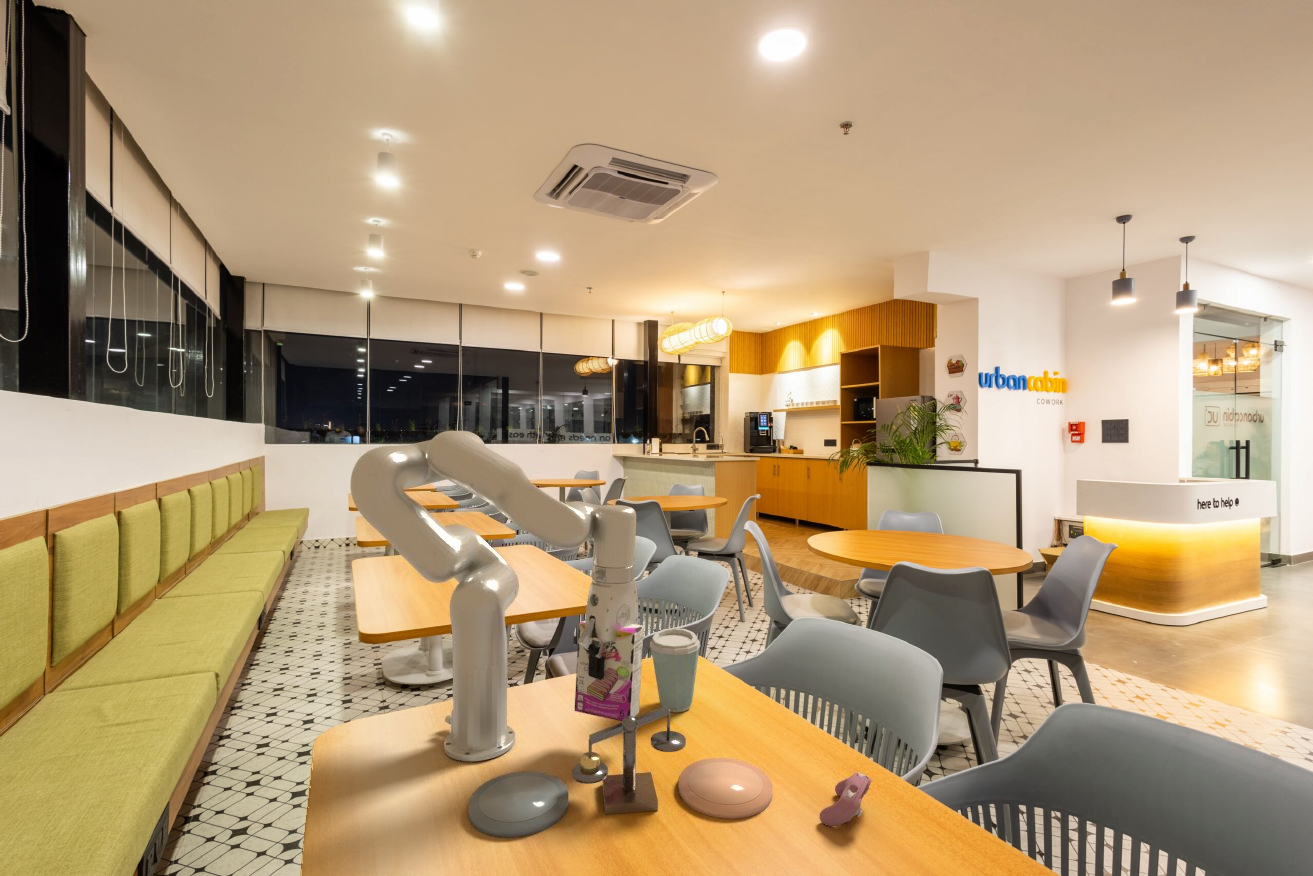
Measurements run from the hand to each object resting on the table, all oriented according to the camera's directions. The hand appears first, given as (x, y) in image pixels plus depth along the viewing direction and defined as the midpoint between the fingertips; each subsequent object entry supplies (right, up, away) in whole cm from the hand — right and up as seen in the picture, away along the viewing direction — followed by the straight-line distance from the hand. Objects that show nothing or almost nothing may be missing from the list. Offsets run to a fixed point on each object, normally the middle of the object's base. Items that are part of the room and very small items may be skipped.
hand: (608, 671), depth 113 cm
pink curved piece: (+38, -15, -19) cm, 45 cm away
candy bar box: (0, -8, 0) cm, 8 cm away
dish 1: (-12, -14, -18) cm, 26 cm away
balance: (+4, -14, -15) cm, 21 cm away
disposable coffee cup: (+13, -14, +18) cm, 26 cm away
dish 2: (+20, -14, -13) cm, 28 cm away
